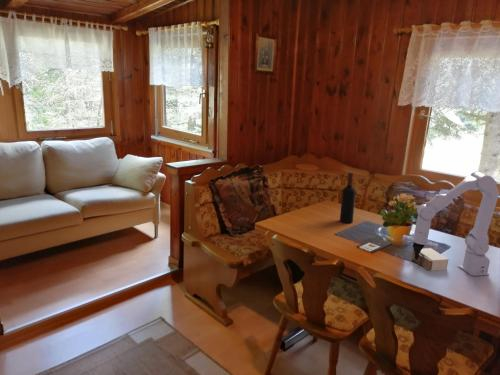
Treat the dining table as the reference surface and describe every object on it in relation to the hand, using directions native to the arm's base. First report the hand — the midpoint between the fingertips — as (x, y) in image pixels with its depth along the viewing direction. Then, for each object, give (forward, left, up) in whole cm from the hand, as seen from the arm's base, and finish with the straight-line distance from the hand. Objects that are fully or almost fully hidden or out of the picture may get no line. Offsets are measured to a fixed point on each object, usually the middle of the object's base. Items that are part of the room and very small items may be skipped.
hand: (416, 258), depth 168 cm
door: (+2, -2, -3) cm, 4 cm away
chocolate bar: (+23, +8, -4) cm, 24 cm away
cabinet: (0, -7, -3) cm, 8 cm away
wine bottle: (+59, +7, -3) cm, 59 cm away
